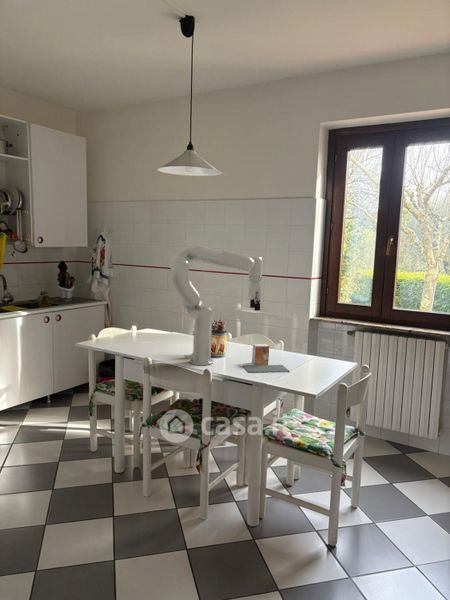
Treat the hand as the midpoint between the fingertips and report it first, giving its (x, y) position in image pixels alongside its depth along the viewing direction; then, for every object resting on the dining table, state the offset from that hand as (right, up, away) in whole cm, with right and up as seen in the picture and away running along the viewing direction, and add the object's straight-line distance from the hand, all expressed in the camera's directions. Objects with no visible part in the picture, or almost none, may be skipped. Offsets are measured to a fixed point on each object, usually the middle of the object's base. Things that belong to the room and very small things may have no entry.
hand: (255, 309), depth 251 cm
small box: (+2, -30, -5) cm, 31 cm away
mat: (+5, -31, -16) cm, 35 cm away
